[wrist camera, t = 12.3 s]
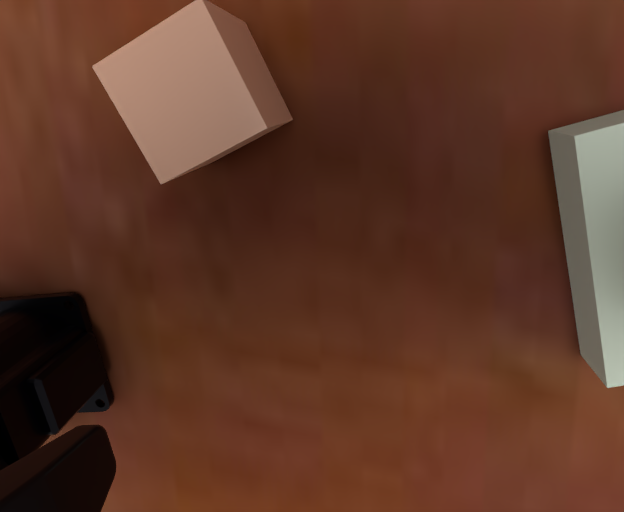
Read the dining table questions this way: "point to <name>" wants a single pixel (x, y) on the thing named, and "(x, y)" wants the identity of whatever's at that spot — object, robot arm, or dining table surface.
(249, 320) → the dining table surface
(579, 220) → the sage block
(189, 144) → the pinkish beige block
